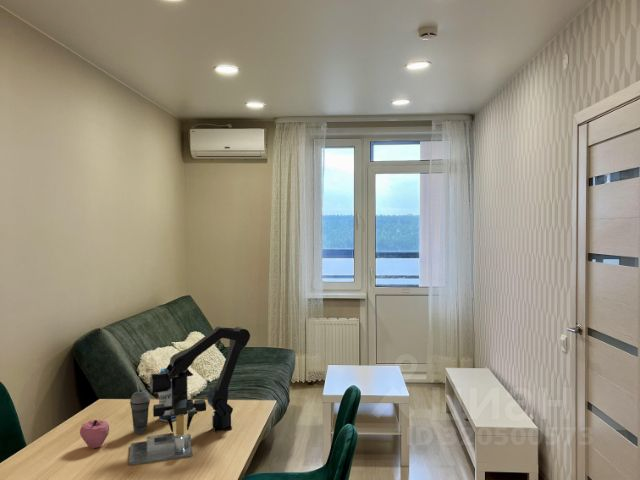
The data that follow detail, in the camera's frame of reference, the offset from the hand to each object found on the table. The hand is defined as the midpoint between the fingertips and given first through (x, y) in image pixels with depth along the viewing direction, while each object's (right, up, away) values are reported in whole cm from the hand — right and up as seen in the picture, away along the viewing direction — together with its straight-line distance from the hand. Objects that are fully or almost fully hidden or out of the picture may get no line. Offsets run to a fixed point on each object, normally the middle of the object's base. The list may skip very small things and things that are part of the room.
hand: (180, 430), depth 185 cm
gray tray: (-3, -2, -13) cm, 13 cm away
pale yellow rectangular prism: (0, -2, 0) cm, 2 cm away
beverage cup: (-17, -2, +5) cm, 17 cm away
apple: (-28, -3, -8) cm, 29 cm away
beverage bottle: (-10, -2, +19) cm, 21 cm away
